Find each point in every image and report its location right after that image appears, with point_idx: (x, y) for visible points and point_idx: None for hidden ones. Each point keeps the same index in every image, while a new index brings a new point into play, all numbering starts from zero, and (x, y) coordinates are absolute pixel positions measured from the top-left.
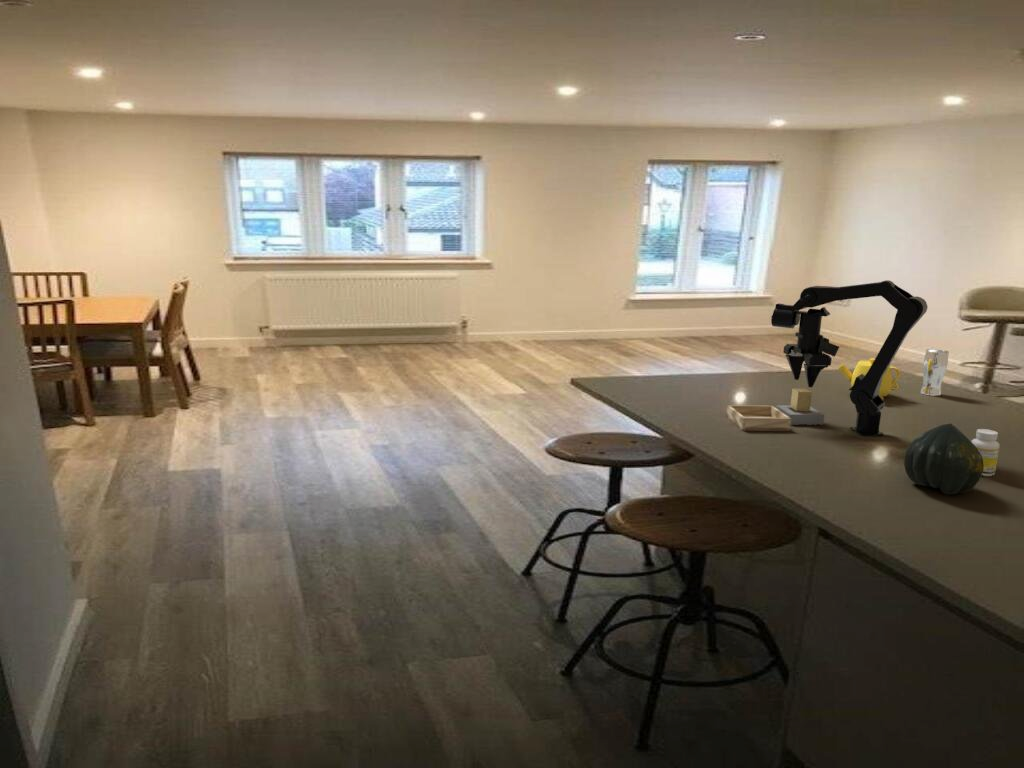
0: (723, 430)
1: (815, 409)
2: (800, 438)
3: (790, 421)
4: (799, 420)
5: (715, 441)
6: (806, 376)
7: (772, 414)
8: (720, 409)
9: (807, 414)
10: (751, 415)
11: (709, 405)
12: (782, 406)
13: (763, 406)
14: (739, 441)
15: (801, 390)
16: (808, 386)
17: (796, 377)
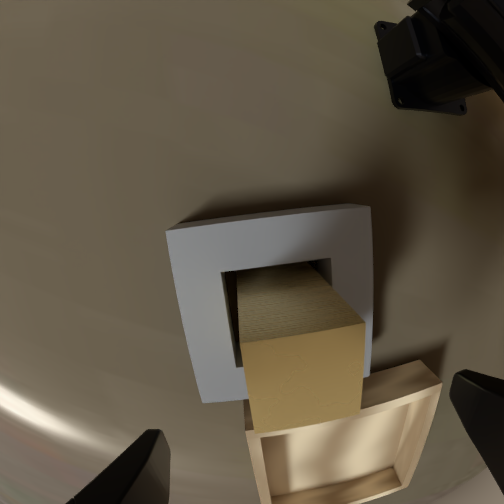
0: None
1: (259, 219)
2: (478, 337)
3: (437, 378)
4: None
5: (442, 481)
6: (500, 468)
7: None
8: (179, 493)
9: (369, 299)
10: (271, 458)
11: None
12: (220, 383)
13: (262, 456)
14: (456, 454)
15: (314, 390)
16: (456, 398)
17: (165, 461)
